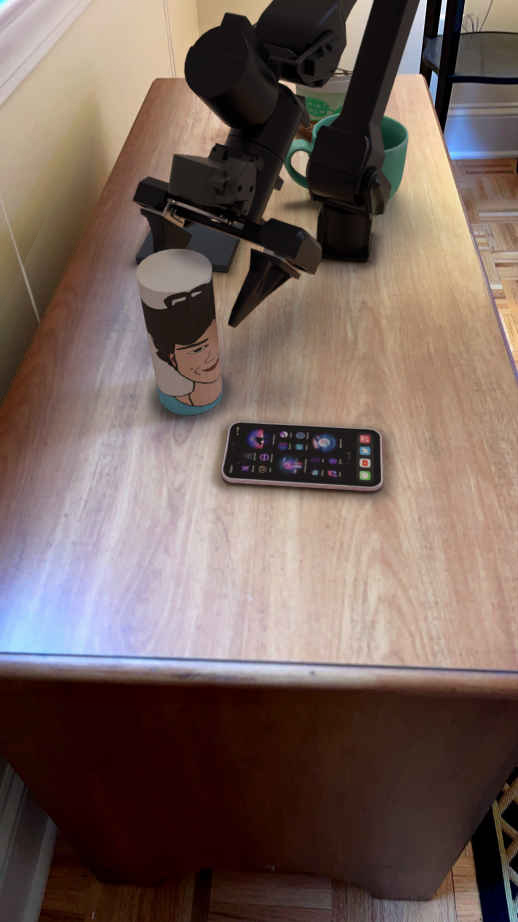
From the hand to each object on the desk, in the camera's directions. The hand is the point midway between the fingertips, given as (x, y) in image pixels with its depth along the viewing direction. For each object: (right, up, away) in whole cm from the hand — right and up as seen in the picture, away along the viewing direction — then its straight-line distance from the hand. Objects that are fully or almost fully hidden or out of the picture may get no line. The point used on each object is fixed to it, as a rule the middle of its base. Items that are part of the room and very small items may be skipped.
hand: (192, 310), depth 66 cm
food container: (+17, +37, +44) cm, 60 cm away
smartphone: (+11, -14, 0) cm, 18 cm away
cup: (-1, -7, +6) cm, 10 cm away
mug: (+18, +23, +32) cm, 43 cm away
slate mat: (-3, +14, +24) cm, 28 cm away
